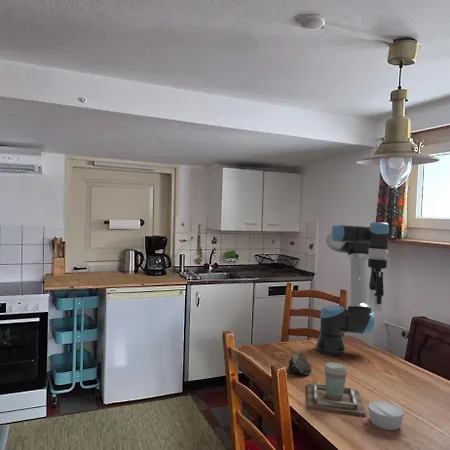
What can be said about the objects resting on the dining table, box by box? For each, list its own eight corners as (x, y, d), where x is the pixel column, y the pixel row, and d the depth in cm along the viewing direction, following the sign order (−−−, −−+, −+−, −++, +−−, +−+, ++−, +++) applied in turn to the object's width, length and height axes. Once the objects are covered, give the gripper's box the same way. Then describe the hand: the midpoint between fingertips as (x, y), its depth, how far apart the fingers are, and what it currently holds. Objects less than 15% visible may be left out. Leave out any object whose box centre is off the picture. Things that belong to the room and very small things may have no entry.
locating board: (307, 385, 162) (307, 379, 162) (358, 392, 158) (358, 385, 158) (307, 408, 143) (307, 401, 143) (365, 416, 139) (365, 409, 139)
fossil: (310, 377, 169) (300, 356, 170) (291, 384, 172) (281, 362, 173) (313, 368, 179) (303, 347, 180) (295, 374, 182) (285, 354, 183)
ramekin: (364, 425, 133) (364, 409, 133) (372, 412, 142) (372, 397, 142) (399, 436, 127) (400, 420, 127) (405, 422, 136) (406, 407, 136)
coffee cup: (322, 400, 148) (324, 368, 147) (323, 390, 156) (324, 360, 156) (346, 403, 146) (348, 371, 145) (345, 393, 154) (347, 363, 154)
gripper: (393, 262, 155) (390, 315, 156) (381, 256, 180) (379, 302, 180) (373, 260, 157) (370, 313, 157) (364, 255, 181) (361, 301, 182)
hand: (375, 308), depth 169 cm, fingers open, 13 cm apart
